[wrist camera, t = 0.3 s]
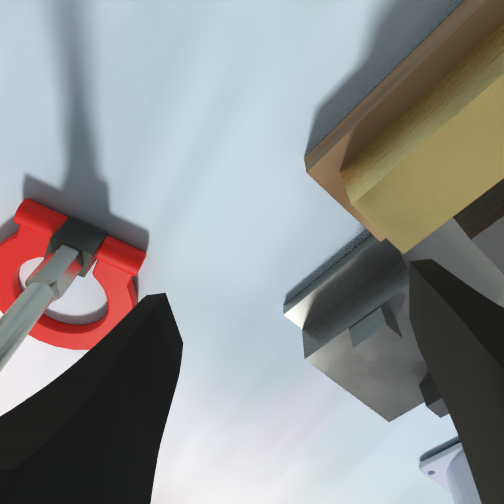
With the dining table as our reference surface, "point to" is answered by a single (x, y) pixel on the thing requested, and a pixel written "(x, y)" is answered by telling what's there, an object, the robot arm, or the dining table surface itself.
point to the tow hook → (60, 278)
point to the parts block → (400, 95)
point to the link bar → (435, 151)
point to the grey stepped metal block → (395, 307)
